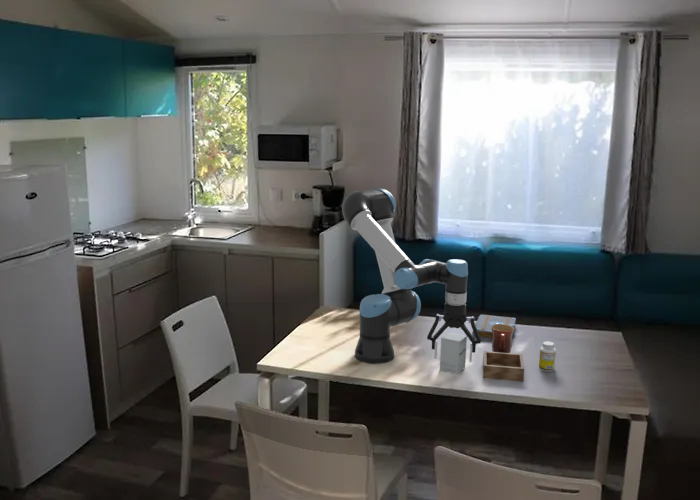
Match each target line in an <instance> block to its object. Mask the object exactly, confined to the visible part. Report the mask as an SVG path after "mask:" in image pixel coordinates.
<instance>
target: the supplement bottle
mask: <svg viewBox="0 0 700 500" xmlns="http://www.w3.org/2000/svg"><path fill="white" fill-rule="evenodd" d="M556 354H557V349H556V348H555V343H554V342H552V341H548V340H547V341H543V342H542V346H541V347H540V350H539V361H538V362H539V363H538V364H539V365H538V367H539V368H538V369H539V370H540V371H542V372H547V373H550V372H554V371H555V366H556V356H557V355H556Z"/></svg>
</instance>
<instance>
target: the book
mask: <svg viewBox="0 0 700 500" xmlns="http://www.w3.org/2000/svg"><path fill="white" fill-rule="evenodd" d="M477 317H478V318H477V321H476V322H475V325H476V328H477V330H478V333H479V336H480V338H481V340H485V341H492V338H493V333H492V328H491V326H492V325H495V324H506V325H510V326H512V327H514V331H513V334H512V338H513V337H514V336H515V333H516V320H517V318H516V317H509V316H501V315H500V316H498V315H489V314H479V316H477ZM471 334H472V336H473V337H474V339H476V337H475V334H474V332H473V331H472V333H471ZM513 339H514V338H513Z"/></svg>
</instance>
